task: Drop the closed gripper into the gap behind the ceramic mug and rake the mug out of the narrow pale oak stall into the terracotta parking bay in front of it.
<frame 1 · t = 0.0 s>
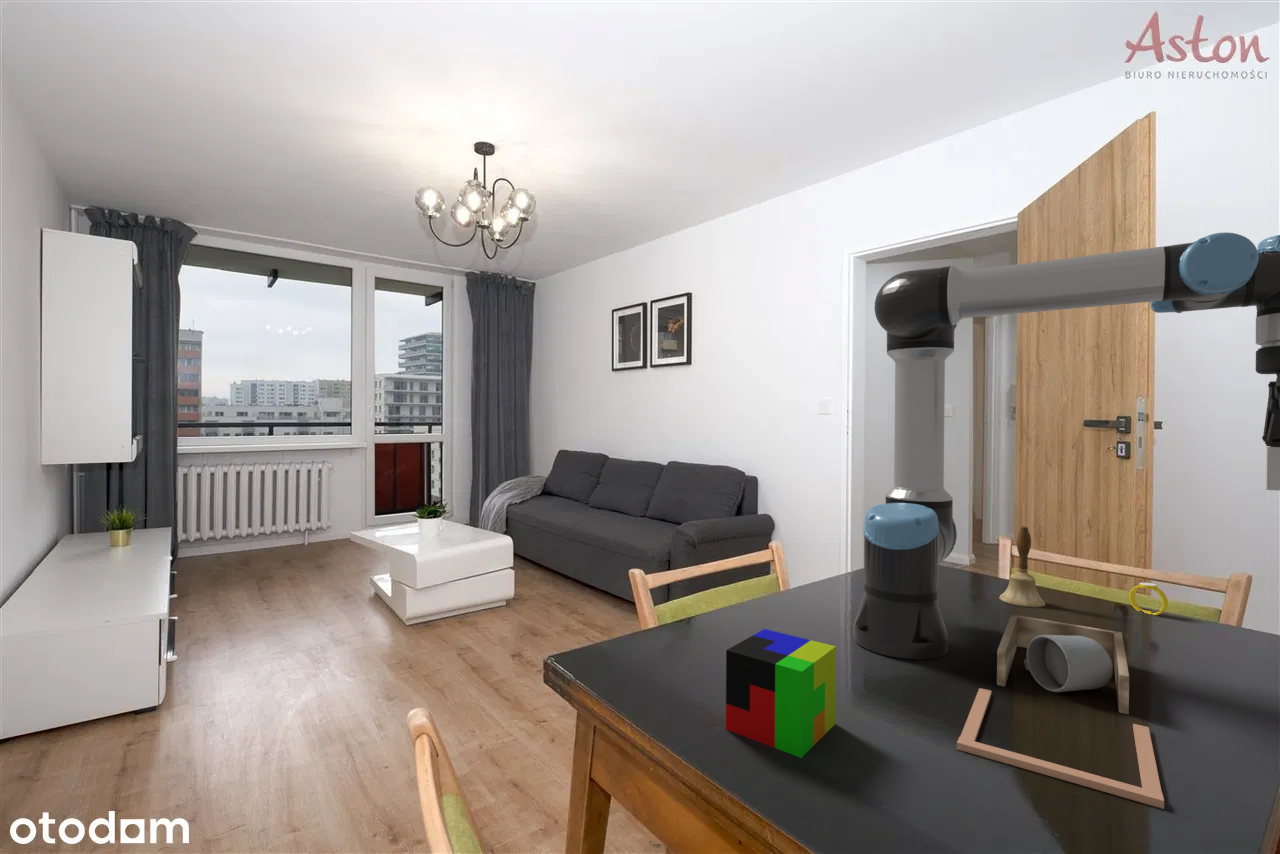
oak stall: (1061, 673, 93), on the table
hand bell: (1021, 602, 130), on the table
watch: (1148, 614, 122), on the table
puzzle toy: (780, 728, 77), on the table
terracotta bay: (1055, 738, 74), on the table
ceramic mug: (1060, 685, 89), on the table
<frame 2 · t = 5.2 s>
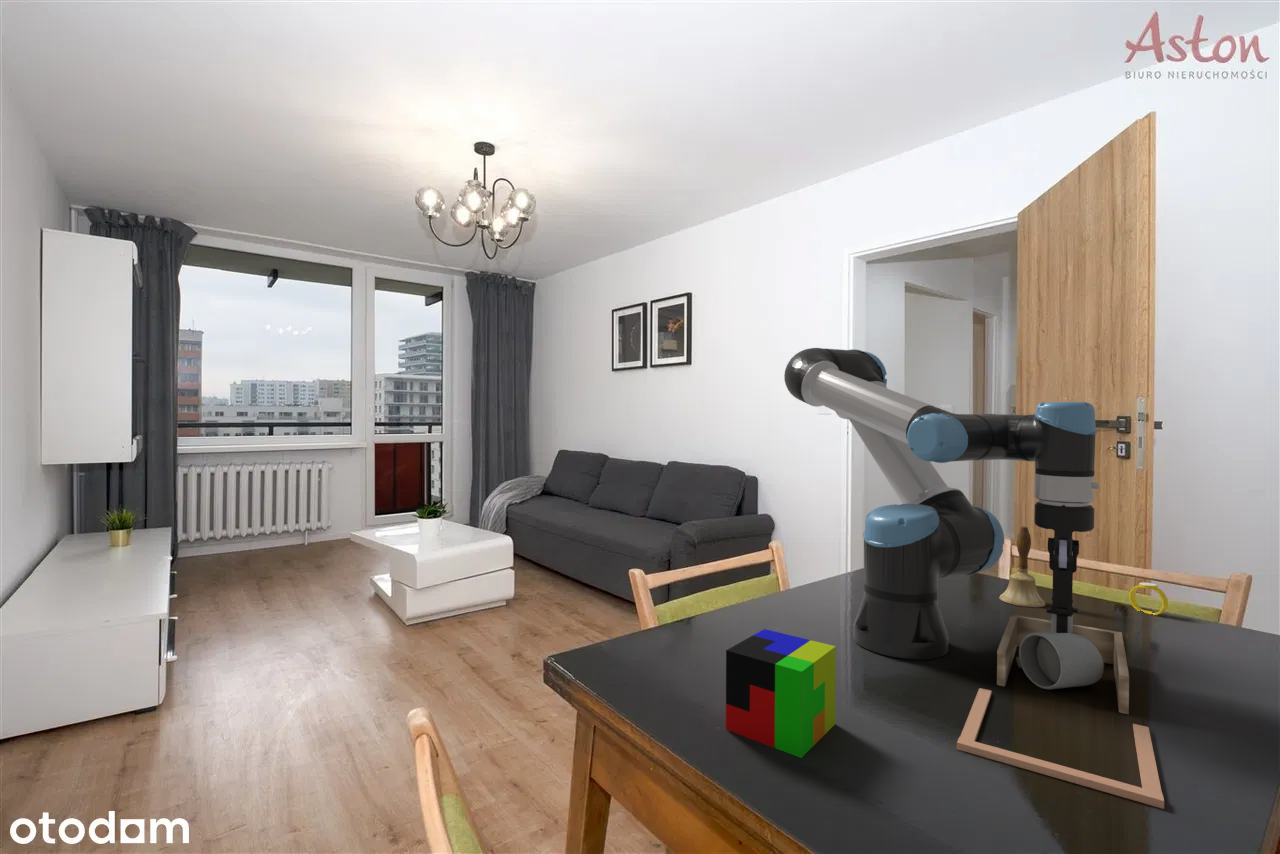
hand: (1061, 655, 94), 2 cm above the table, tool pointing down, fingers closed
ceramic mug: (1051, 682, 90), on the table, touching gripper
everything else where it was.
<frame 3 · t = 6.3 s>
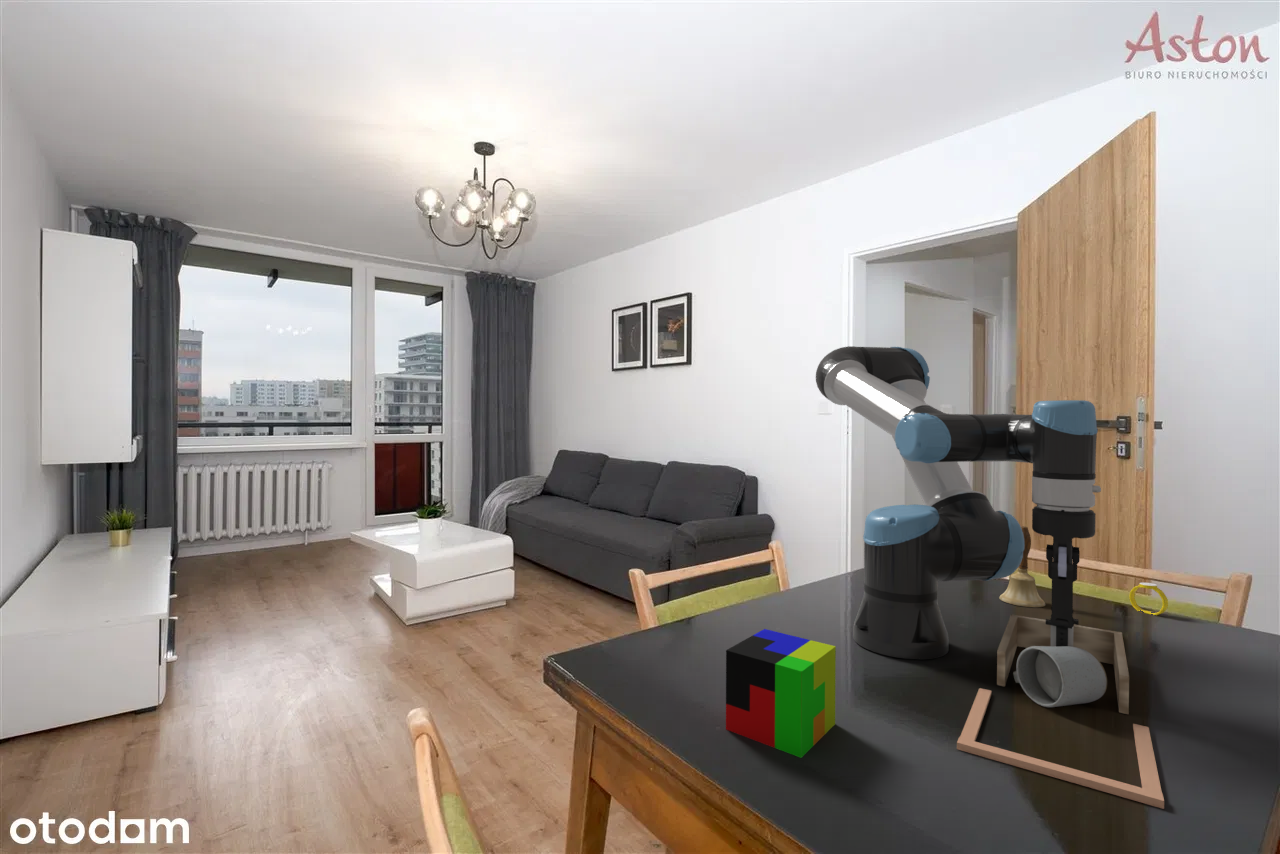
hand: (1061, 669, 89), 2 cm above the table, tool pointing down, fingers closed
ceramic mug: (1051, 699, 85), on the table, touching gripper
everything else where it was.
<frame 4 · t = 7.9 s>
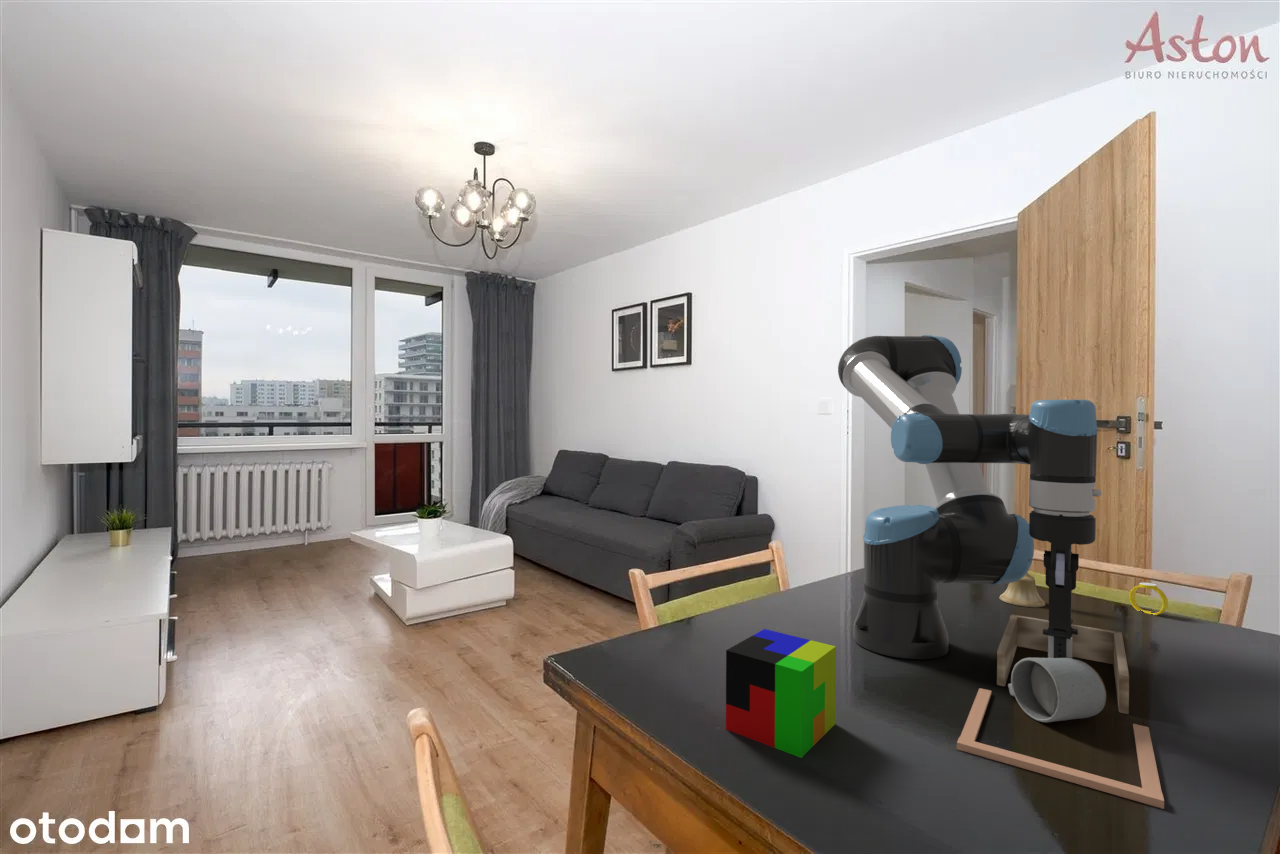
hand: (1059, 681, 84), 2 cm above the table, tool pointing down, fingers closed
ceramic mug: (1047, 713, 81), on the table, touching gripper
everything else where it was.
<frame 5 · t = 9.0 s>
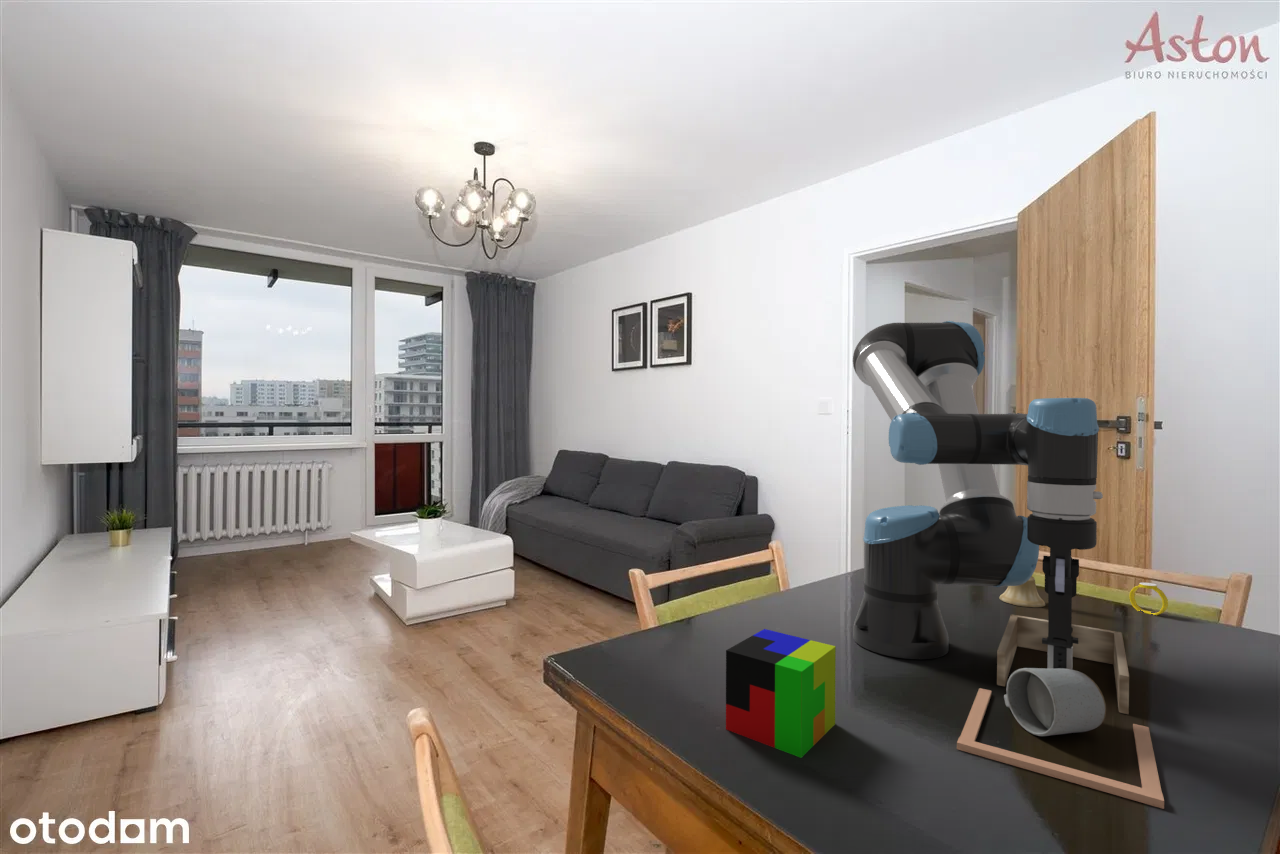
hand: (1059, 693, 81), 3 cm above the table, tool pointing down, fingers closed
ceramic mug: (1044, 726, 77), on the table, touching gripper
everything else where it was.
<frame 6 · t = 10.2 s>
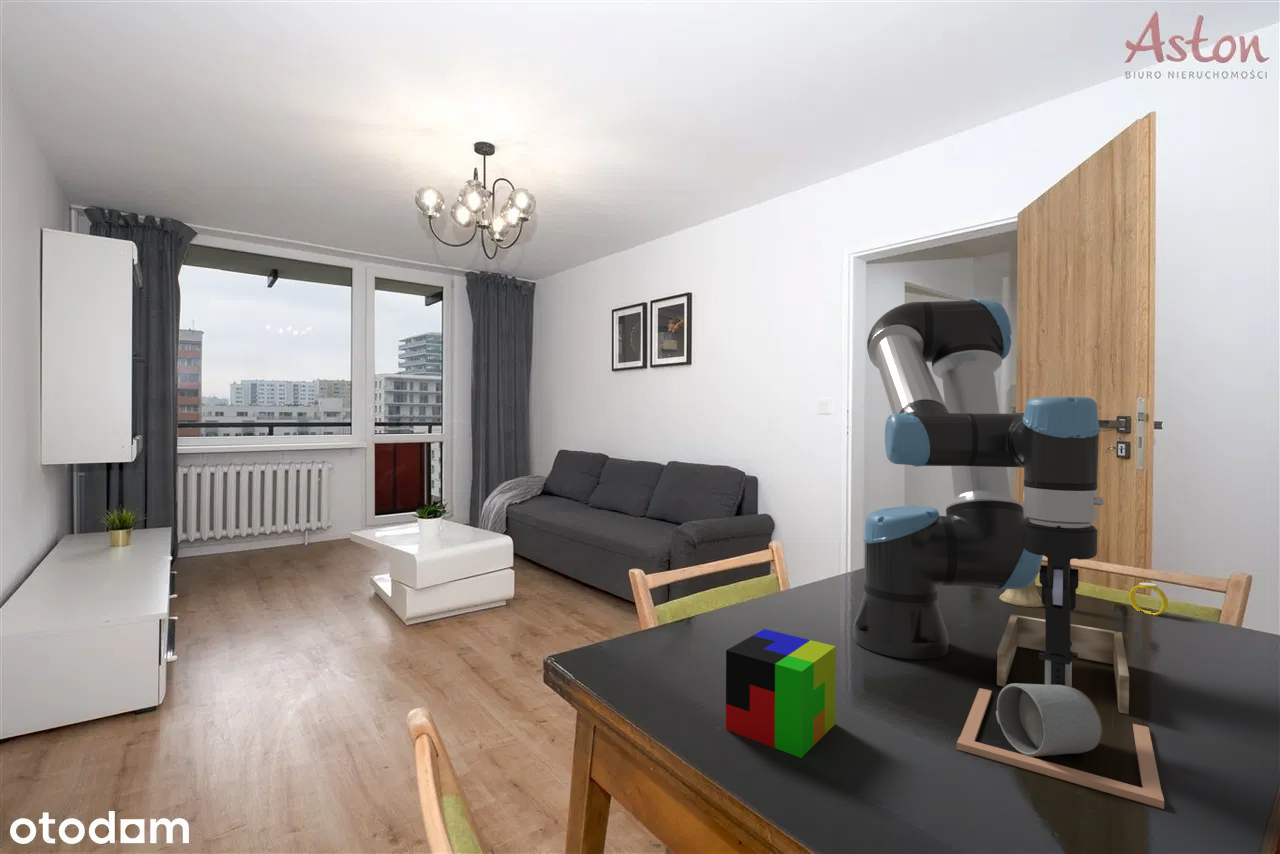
hand: (1057, 711, 76), 2 cm above the table, tool pointing down, fingers closed
ceramic mug: (1037, 745, 73), on the table, touching gripper, terracotta bay
everything else where it was.
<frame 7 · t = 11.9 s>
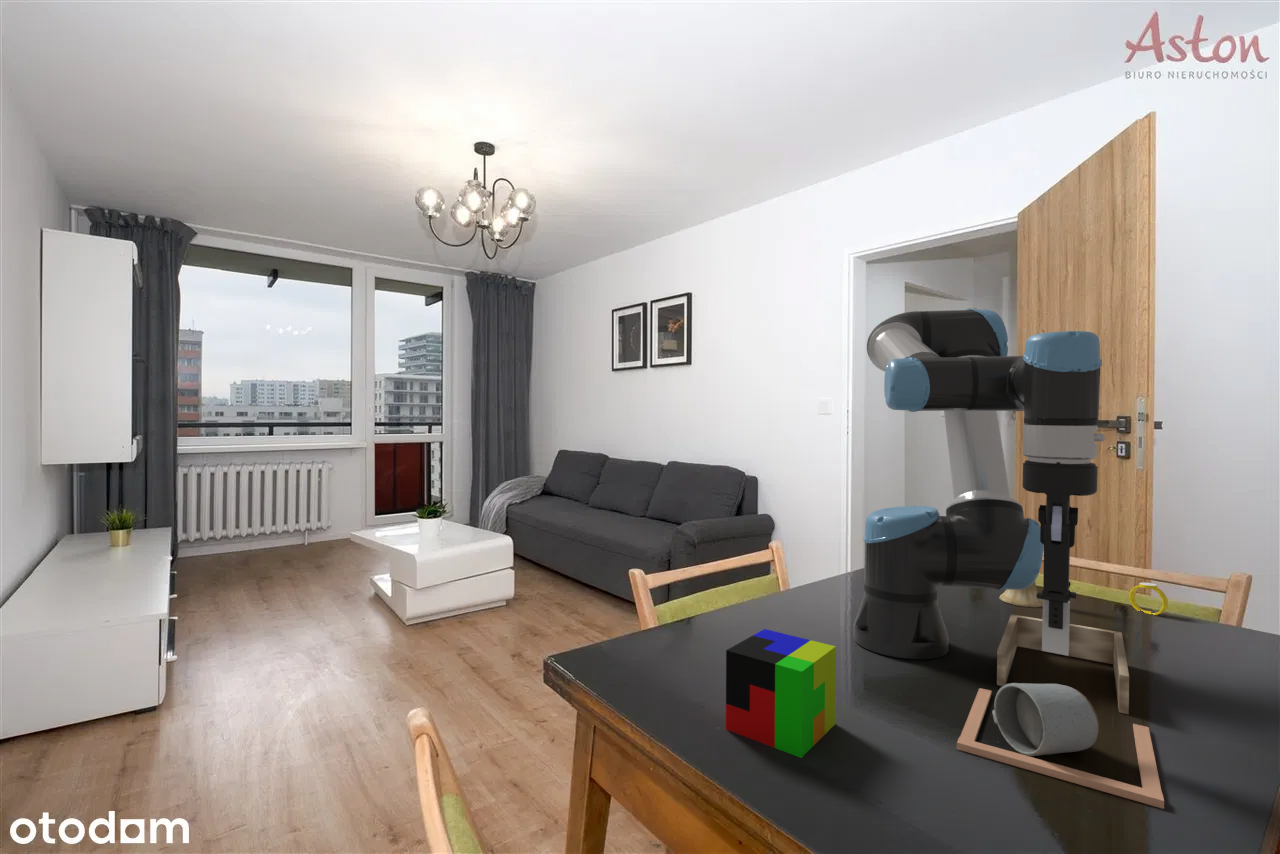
hand: (1055, 651, 75), 10 cm above the table, tool pointing down, fingers closed
ceramic mug: (1034, 744, 73), on the table
everything else where it was.
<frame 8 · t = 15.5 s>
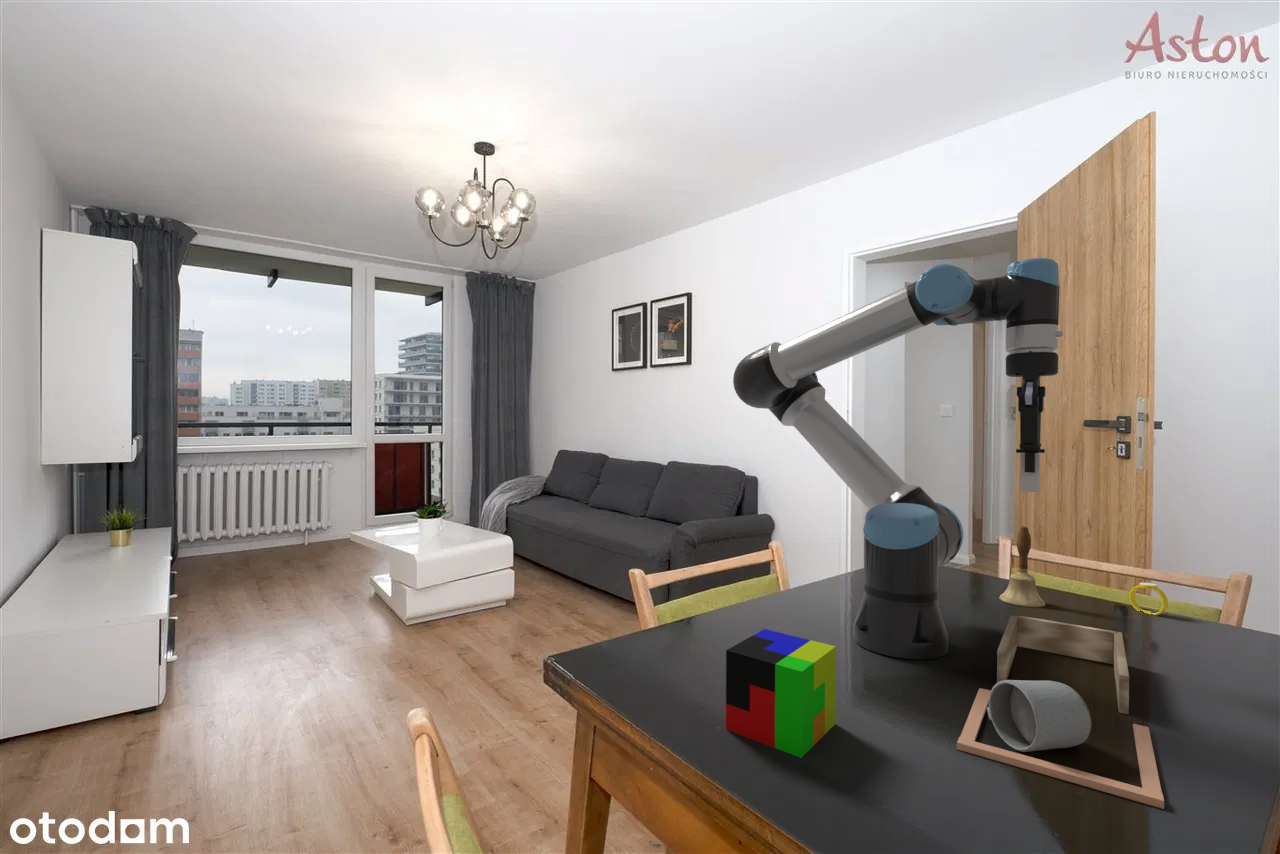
hand: (1030, 491, 104), 26 cm above the table, tool pointing down, fingers closed
nothing on the table moved.
at the end: ceramic mug inside the target area (3.6 cm from its centre), on the table; ceramic mug tilted 0°; ceramic mug touching table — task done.
